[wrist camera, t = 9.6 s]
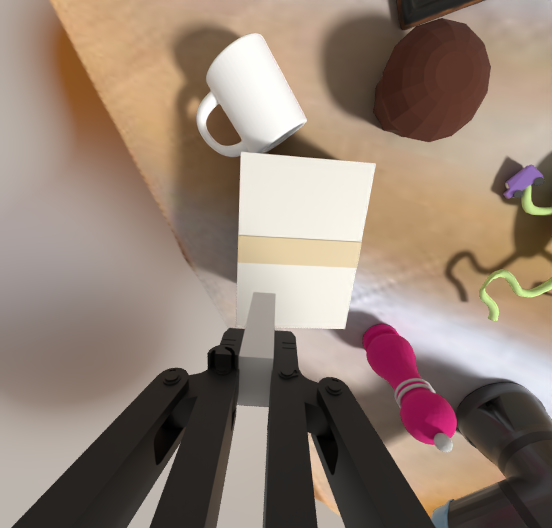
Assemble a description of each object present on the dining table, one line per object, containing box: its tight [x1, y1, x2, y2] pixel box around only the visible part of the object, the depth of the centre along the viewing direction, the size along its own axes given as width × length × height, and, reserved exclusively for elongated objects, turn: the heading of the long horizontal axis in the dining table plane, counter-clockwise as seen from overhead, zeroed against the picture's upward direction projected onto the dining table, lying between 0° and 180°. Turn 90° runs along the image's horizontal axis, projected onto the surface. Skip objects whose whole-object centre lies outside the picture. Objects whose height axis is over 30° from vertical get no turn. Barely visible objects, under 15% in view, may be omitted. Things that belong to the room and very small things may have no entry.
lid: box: [236, 152, 376, 329], centre depth 31 cm, size 21×14×1 cm
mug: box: [196, 33, 307, 157], centre depth 32 cm, size 12×10×8 cm
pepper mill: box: [363, 324, 457, 452], centre depth 37 cm, size 7×7×20 cm
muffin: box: [373, 18, 491, 142], centre depth 30 cm, size 12×11×10 cm
